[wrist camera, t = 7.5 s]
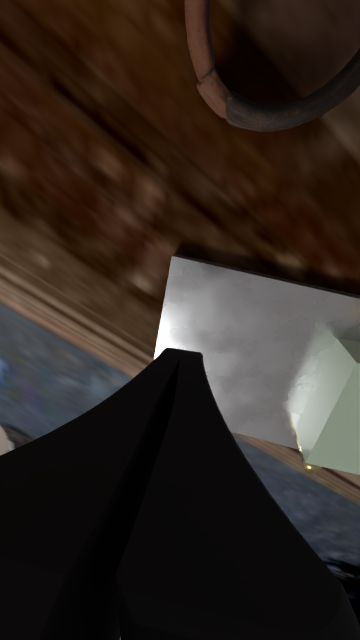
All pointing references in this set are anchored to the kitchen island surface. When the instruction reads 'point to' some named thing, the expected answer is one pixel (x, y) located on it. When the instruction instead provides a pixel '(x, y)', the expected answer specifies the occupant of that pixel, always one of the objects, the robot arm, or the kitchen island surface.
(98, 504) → the robot arm
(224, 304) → the chassis
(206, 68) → the pottery mug
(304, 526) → the kitchen island surface
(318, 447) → the pale green block
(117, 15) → the kitchen island surface
